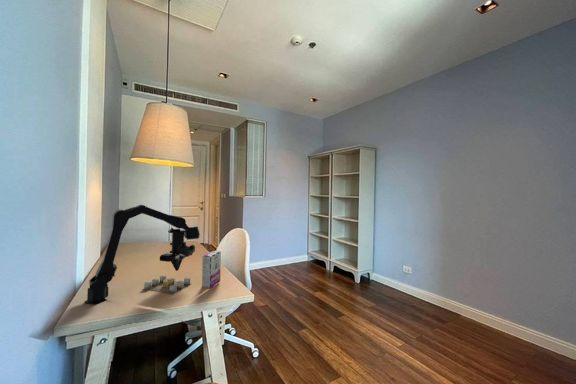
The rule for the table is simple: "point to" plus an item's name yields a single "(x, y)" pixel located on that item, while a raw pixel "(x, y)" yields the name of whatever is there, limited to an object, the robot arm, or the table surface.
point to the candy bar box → (211, 269)
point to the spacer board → (173, 289)
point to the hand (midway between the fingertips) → (177, 270)
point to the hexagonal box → (168, 282)
